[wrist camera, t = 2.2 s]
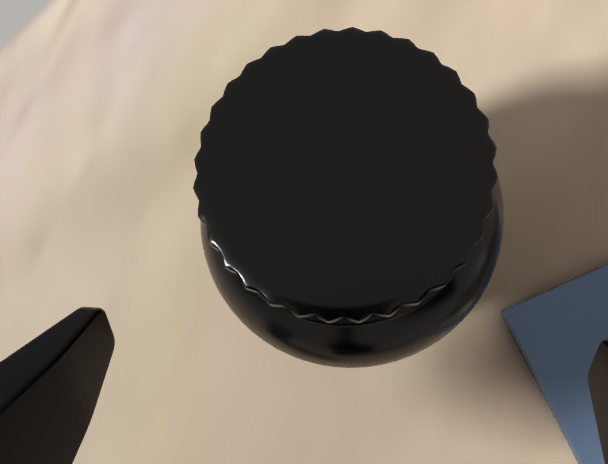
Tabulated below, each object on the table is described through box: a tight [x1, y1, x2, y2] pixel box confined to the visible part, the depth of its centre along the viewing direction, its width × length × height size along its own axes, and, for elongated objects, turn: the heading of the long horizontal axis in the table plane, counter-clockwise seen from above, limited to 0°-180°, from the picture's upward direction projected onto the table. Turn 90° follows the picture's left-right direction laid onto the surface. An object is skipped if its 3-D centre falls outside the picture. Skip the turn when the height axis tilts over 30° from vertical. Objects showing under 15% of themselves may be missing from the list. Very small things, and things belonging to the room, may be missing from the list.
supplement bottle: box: [193, 27, 504, 368], centre depth 14 cm, size 7×7×12 cm
